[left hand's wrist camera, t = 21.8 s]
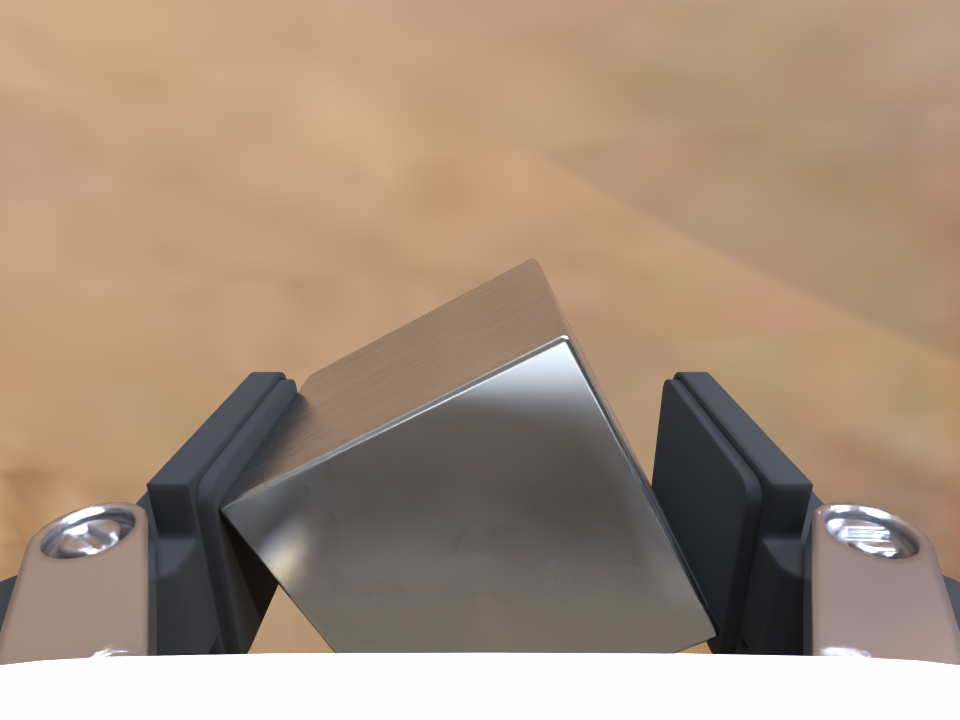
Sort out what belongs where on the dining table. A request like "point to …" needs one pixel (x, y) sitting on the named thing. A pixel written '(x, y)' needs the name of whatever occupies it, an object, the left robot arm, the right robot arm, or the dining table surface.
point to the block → (468, 495)
